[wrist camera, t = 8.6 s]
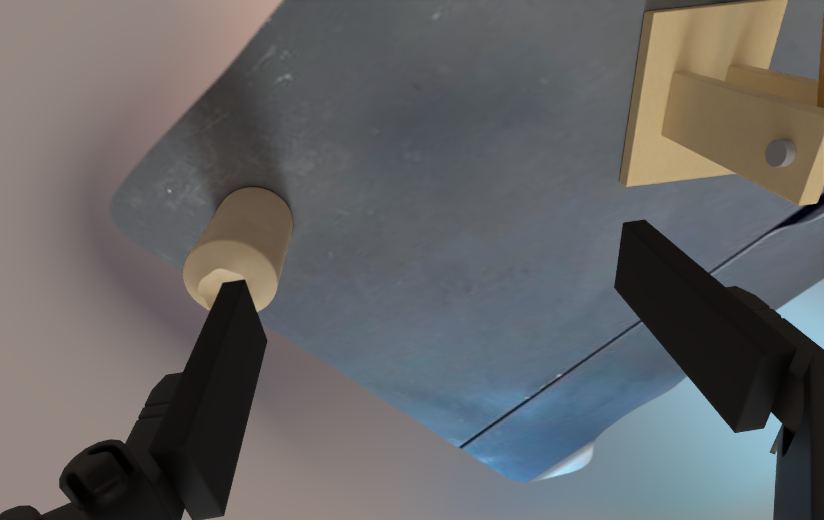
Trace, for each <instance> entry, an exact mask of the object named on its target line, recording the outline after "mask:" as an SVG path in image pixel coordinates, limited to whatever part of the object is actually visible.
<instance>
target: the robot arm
mask: <svg viewBox="0 0 824 520" xmlns="http://www.w3.org/2000/svg"><path fill="white" fill-rule="evenodd" d="M614 288H615V289H616V290H617V292H618V293H619V294H620V295H621V296H622V298H623V299H624V300H625V301H626V302H627V304H628V305H629V306H630V307H631V308H632V310H633V311H634V312H635V313H636V314H637V316H638V317H639V318H640V319H641V320H642V322H643V323H644V324H645V325H646V326H647V328H648V329H649V330H650V331H651V333H652V334H653V335H654V336H655V337H656V339H657V340H658V341H659V342H660V343H661V345H662V346H663V347H664V348H665V349H666V351H667V352H668V353H669V354H670V355H671V357H672V358H673V359H674V360H675V361H676V363H677V364H678V365H679V366H680V367H681V369H682V370H683V371H684V372H685V373H686V375H687V376H688V377H689V378H690V379H691V380H692V382H693V383H694V384H695V385H696V387H697V388H698V389H699V390H700V391H701V393H702V394H703V395H704V396H705V397H706V399H707V400H708V401H709V402H710V403H711V405H712V406H713V407H714V408H715V410H716V411H717V412H718V413H719V414H720V416H721V417H722V418H723V419H724V420H725V422H726V423H727V424H728V425H729V426H730V428H731V429H732V430H733V431H734V432H735V433H738V432H744V431H751V430H757V429H763V428H764V427H765V425H766V422H767V420H768V417H769V415H770V413H771V412H772V413H773V414H774V415H775V416H776V417H777V419H779V421H780V422H781V423H782V426H781V428H780V430H779V432H778V435H777V437H776V439H775V441H774V444H773V446H772V448H771V451H770V453H773V454H775V453H776V451H777V464H776V481H775V499H774V518H773V520H824V349H822V348H821V347H820V346H819V345H817V344H816V343H815V342H813V341H812V340H811V339H810V338H808V337H807V336H806V335H805V334H803V333H802V332H801V331H800V330H798V329H797V328H796V327H795V326H793V325H792V324H791V323H790V322H788V321H787V320H786V319H785V318H781V315H780V314H778V313H777V312H776V311H775V310H773V309H770V308H769V306H768V305H767V304H766V303H764V302H763V301H762V300H761V299H759V298H758V297H757V296H756V295H754V294H752V293H750V292H747V291H745V290H743V289H741V288H739V287H737V286H733V287H724V286H723V285H722V284H721V283H720V282H718V281H717V280H716V279H715V278H714V277H712V276H711V275H710V274H709V273H708V272H707V271H705V270H704V269H703V268H702V267H701V266H699V265H698V264H697V263H696V262H695V261H693V260H692V259H691V258H690V257H689V256H687V255H686V254H685V253H684V252H683V251H682V250H680V249H679V248H678V247H677V246H676V245H674V244H673V243H672V242H671V241H670V240H668V239H667V238H666V237H665V236H664V235H662V234H661V233H660V232H659V231H658V230H656V229H655V228H654V227H653V226H652V225H651V224H649V223H648V222H647V221H646V220H639V221H632V222H625V223H623V227H622V235H621V242H620V249H619V257H618V264H617V271H616V279H615V286H614ZM266 344H267V338H266V336H265V333H264V330H263V327H262V324H261V322H260V319H259V316H258V313H257V311H256V308H255V305H254V302H253V299H252V297H251V294H250V291H249V288H248V286H247V283H246V280H245V279H243V280H237V281H230V282H223V283H222V285H221V287H220V290H219V292H218V294H217V297H216V299H215V301H214V303H213V306H212V308H211V310H210V313H209V315H208V317H207V319H206V322H205V324H204V326H203V328H202V330H201V333H200V335H199V337H198V339H197V342H196V344H195V346H194V349H193V351H192V353H191V355H190V358H189V360H188V362H187V364H186V367H185V369H184V371H183V372H182V373H175V374H168V375H166V376H165V377H164V378H163V379H162V380H161V381H160V382H159V383H158V384H157V385H156V386H155V387H154V388H153V389H152V391H151V393H150V395H149V397H148V399H147V401H146V403H145V408H143V409H142V411H141V413H140V415H139V417H138V418H139V420H138V421H136V423H135V425H134V427H133V429H132V431H131V433H130V435H129V437H128V439H127V441H126V443H125V444H124V443H123V442H122V441H120V440H106V441H102V442H98V443H96V444H94V445H92V446H90V447H88V448H86V449H84V450H83V451H82V452H80V453H79V454H78V455H77V456H75V457H74V458H73V459H72V460H71V461H70V462H69V464H68V465H67V466H66V467H65V468H64V470H63V472H62V474H61V477H60V479H59V486H60V489H61V490H62V491H63V492H64V494H65V495H66V496H67V497H68V498H69V499H70V501H71V503H68V504H66V505H64V506H61V507H59V508H57V509H54V510H52V511H50V512H47V513H45V514H43V515H41V514H40V513H39V512H38V511H37V510H36V509H35V508H33V507H31V506H17V507H14V508H12V509H9V510H6V511H4V512H2V513H1V514H0V520H181V518H182V515H183V512H184V509H186V511H187V512H188V514H189V515H190V517H191V518H192V520H203V519H209V518H215V517H221V516H224V513H225V509H226V506H227V502H228V498H229V494H230V490H231V486H232V481H233V477H234V473H235V469H236V465H237V461H238V457H239V453H240V449H241V445H242V441H243V437H244V433H245V429H246V425H247V421H248V417H249V413H250V409H251V405H252V401H253V397H254V393H255V389H256V385H257V380H258V377H259V373H260V369H261V365H262V360H263V356H264V352H265V348H266Z"/></svg>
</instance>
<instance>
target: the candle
mask: <svg viewBox="0 0 824 520" xmlns="http://www.w3.org/2000/svg"><path fill="white" fill-rule="evenodd" d="M292 229H293V219H292V214H291V212H290V209H289V208H288V206H287V204H286V203H285V202H284V201H283V200H282V199H281V198H280V197H279V196H278V195H276V194H275V193H273V192H271V191H269V190H266V189H263V188H257V187H247V188H242V189H239V190H236V191H234V192H233V193H231V194H230V195H228V196H227V197H226V198H225V199H224V201H223V202H222V203H221V205H220V206H219V208H218V209H217V211H216V213H215V214H214V216H213V217H212V219H211V221H210V222H209V224H208V226H207V227H206V229H205V230H204V232H203V234H202V235H201V237H200V238H199V240H198V242H197V243H196V245H195V246H194V248H193V250H192V251H191V253H190V255H189V256H188V258H187V260H186V262H185V264H184V268H183V280H184V284H185V286H186V288H187V290H188V292H189V293H190V295H191V296H192V297H193V298H194V299H195V301H196V302H198V303H199V304H200V305H202V306H203V307H205V308H206V309H208V310H211V308H212V306H213V303H214V301H215V299H216V297H217V294H218V292H219V290H220V287H221V285H222V283H223V282H230V281H237V280H243V279H245V280H246V283H247V286H248V288H249V291H250V294H251V297H252V299H253V302H254V305H255V308H256V311H257V312H258V311H260V310H262V309H263V308H265V307H266V306H267V305H268V304H269V303H270V302H271V301H272V299H273V298H274V296H275V293H276V290H277V287H278V283H279V279H280V275H281V272H282V268H283V264H284V260H285V257H286V253H287V249H288V245H289V242H290V238H291V234H292Z"/></svg>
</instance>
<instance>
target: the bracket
mask: <svg viewBox="0 0 824 520" xmlns="http://www.w3.org/2000/svg"><path fill="white" fill-rule="evenodd" d="M787 2H788V0H747V1H738V2H729V3H720V4H710V5H701V6H692V7H683V8H673V9H664V10H655V11H646V12H645V13H644V20H643V26H642V33H641V40H640V47H639V53H638V60H637V67H636V73H635V80H634V87H633V93H632V100H631V107H630V113H629V120H628V127H627V134H626V140H625V147H624V154H623V160H622V167H621V174H620V180H619V181H620V182H621V183H622V184H623V185H625V186H626V187H630V186H638V185H646V184H654V183H663V182H671V181H679V180H687V179H695V178H703V177H712V176H720V175H728V174H738V175H740V176H742V177H744V178H746V179H748V180H750V181H752V182H754V183H756V184H757V185H759V186H761V187H763V188H765V189H767V190H769V191H771V192H773V193H775V194H777V195H779V196H781V197H783V198H785V199H787V200H789V201H791V202H793V203H795V204H797V205H808V204H816V203H817V202H818V200H819V197H820V195H821V192H822V189H823V187H824V108H821V107H817V96H818V82H819V81H818V80H814V79H809V78H804V77H800V76H795V75H790V74H786V73H781V72H777V71H772V70H768V68H769V65H770V61H771V58H772V54H773V51H774V47H775V44H776V40H777V37H778V33H779V30H780V26H781V23H782V19H783V16H784V12H785V9H786V5H787Z"/></svg>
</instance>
